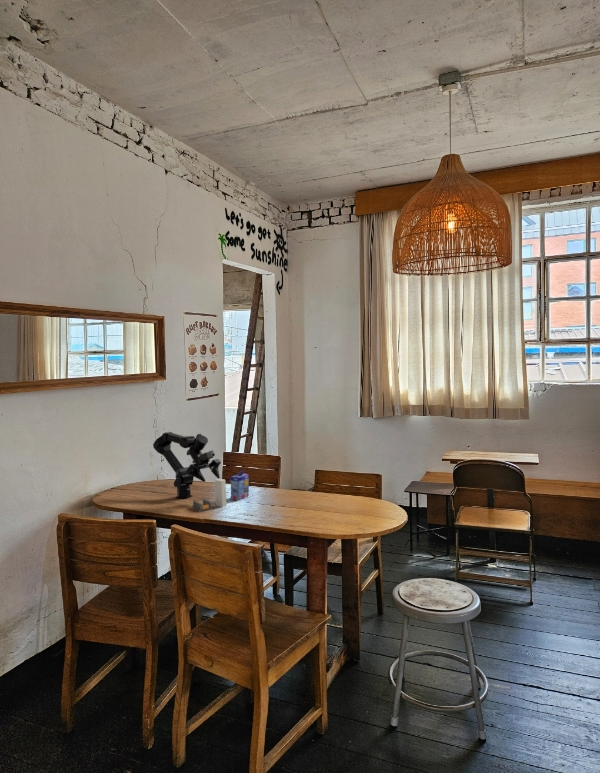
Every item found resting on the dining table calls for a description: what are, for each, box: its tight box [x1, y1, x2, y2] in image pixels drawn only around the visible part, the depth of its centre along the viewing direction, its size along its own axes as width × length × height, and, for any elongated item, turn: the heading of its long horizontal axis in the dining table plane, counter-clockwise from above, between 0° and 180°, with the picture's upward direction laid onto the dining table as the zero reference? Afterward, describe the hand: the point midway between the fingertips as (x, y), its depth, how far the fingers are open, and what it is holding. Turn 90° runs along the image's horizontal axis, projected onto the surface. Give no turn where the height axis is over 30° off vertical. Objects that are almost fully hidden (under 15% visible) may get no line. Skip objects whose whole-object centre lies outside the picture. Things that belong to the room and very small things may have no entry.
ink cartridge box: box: [230, 470, 250, 501], centre depth 275 cm, size 10×6×14 cm, turn 152°
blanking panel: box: [214, 478, 227, 508], centre depth 261 cm, size 5×2×13 cm, turn 49°
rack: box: [192, 498, 214, 512], centre depth 258 cm, size 9×7×3 cm
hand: (212, 479), depth 265 cm, fingers open, 9 cm apart
